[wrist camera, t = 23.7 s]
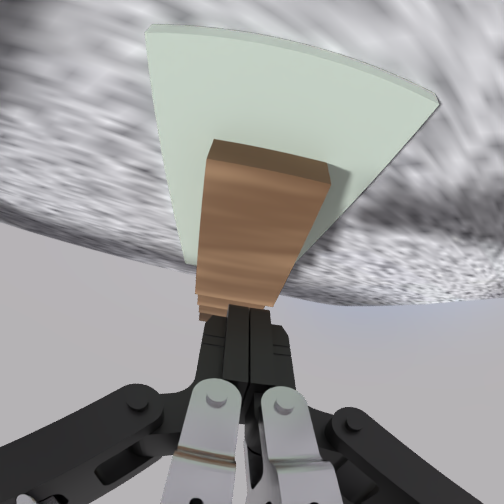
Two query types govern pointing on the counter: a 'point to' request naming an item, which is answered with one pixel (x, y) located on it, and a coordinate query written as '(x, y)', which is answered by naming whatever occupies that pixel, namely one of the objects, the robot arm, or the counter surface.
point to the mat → (273, 113)
